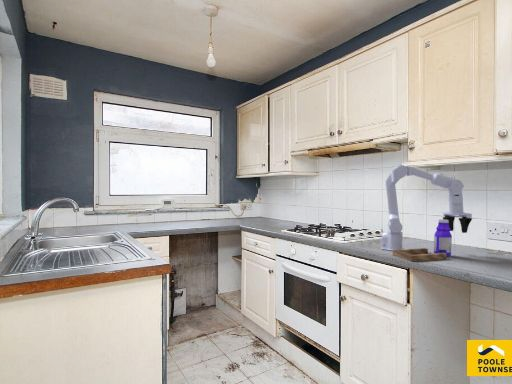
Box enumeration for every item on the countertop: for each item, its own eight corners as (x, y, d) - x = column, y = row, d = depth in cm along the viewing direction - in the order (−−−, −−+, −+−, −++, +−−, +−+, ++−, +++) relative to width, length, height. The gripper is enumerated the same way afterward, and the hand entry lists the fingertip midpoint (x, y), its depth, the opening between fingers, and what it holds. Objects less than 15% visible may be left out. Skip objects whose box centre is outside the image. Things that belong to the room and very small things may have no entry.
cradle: (425, 253, 150) (425, 248, 150) (446, 259, 138) (446, 253, 138) (392, 255, 145) (392, 250, 145) (411, 261, 133) (411, 255, 133)
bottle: (445, 254, 148) (446, 219, 148) (453, 257, 143) (454, 220, 142) (431, 254, 148) (432, 218, 148) (438, 257, 142) (439, 220, 142)
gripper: (476, 203, 141) (478, 232, 141) (450, 203, 155) (451, 229, 155) (463, 204, 139) (465, 234, 139) (438, 204, 153) (440, 230, 153)
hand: (457, 231), depth 147 cm, fingers open, 7 cm apart
